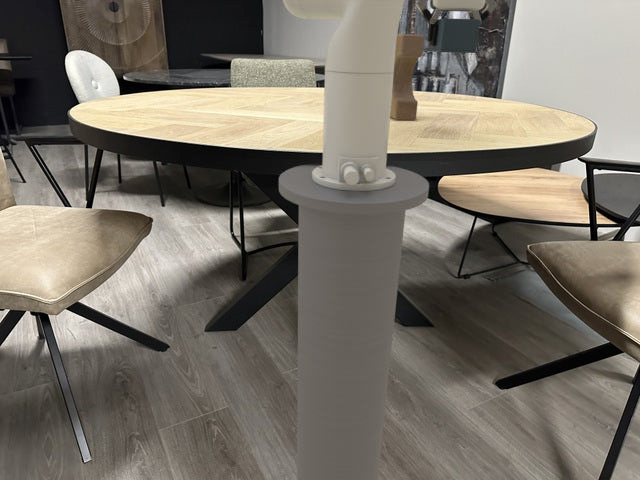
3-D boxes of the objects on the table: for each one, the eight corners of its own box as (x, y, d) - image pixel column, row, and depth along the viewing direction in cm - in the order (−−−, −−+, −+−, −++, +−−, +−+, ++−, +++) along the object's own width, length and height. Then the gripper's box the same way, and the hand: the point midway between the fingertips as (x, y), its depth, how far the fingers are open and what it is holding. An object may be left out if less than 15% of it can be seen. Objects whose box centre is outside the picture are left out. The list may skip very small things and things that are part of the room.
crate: (475, 53, 92) (480, 19, 90) (440, 52, 92) (444, 18, 90) (459, 51, 102) (463, 21, 100) (427, 50, 102) (430, 20, 100)
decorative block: (416, 120, 119) (425, 34, 111) (394, 120, 118) (402, 34, 111) (402, 114, 129) (410, 34, 122) (382, 113, 129) (389, 34, 121)
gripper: (422, -60, 86) (412, 45, 93) (516, -57, 87) (499, 47, 94) (414, -53, 93) (405, 44, 100) (501, -50, 94) (486, 46, 101)
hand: (451, 45), depth 97 cm, fingers closed on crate, 7 cm apart
